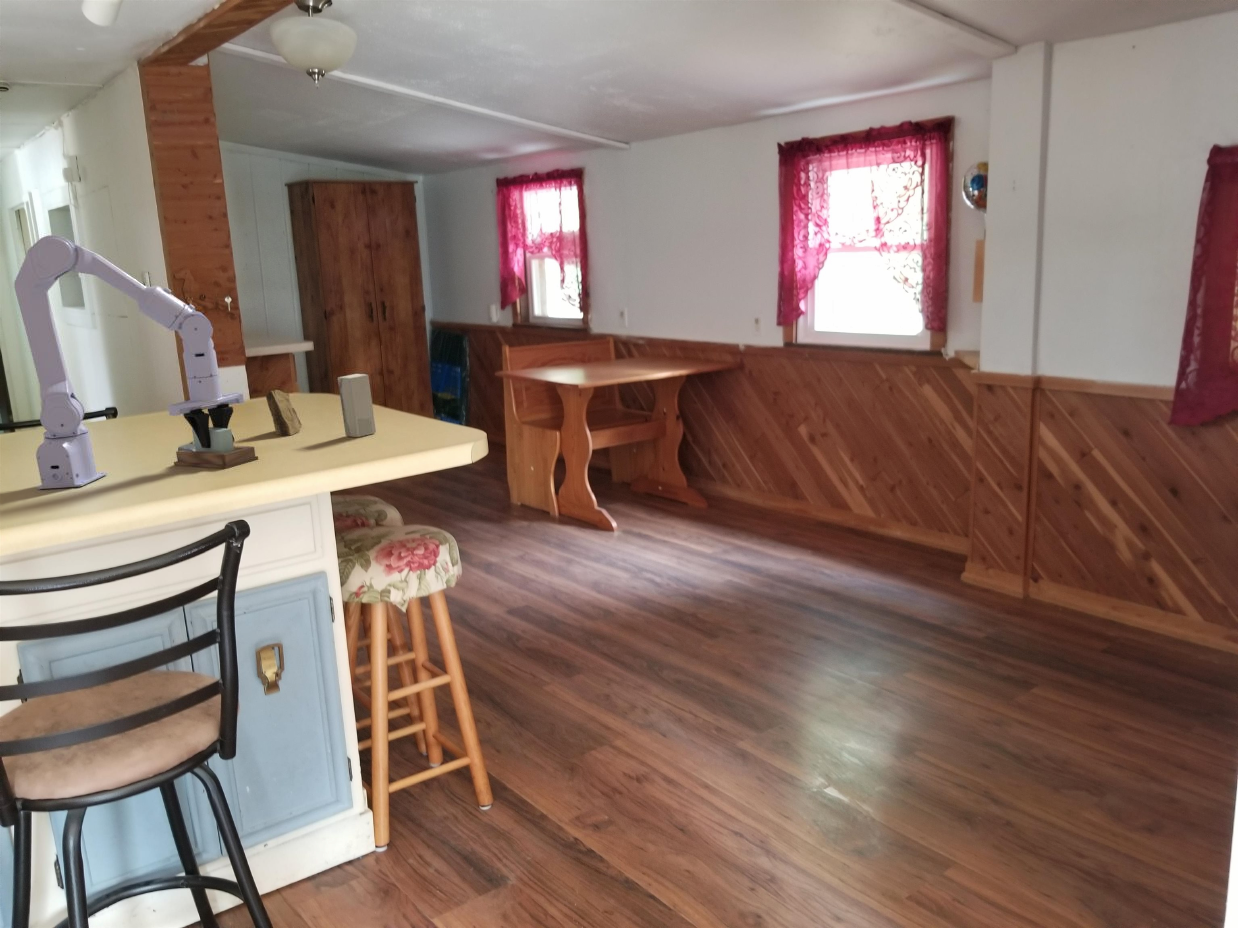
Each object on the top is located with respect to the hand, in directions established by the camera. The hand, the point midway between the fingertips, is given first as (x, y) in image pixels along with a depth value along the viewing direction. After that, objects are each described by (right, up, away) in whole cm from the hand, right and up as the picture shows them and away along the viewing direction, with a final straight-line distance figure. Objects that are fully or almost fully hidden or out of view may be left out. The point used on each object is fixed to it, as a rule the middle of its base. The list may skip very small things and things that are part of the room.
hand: (213, 445), depth 185 cm
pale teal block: (0, -3, +1) cm, 3 cm away
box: (+23, +3, +20) cm, 31 cm away
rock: (+5, +4, +30) cm, 31 cm away
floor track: (0, -3, +1) cm, 3 cm away
